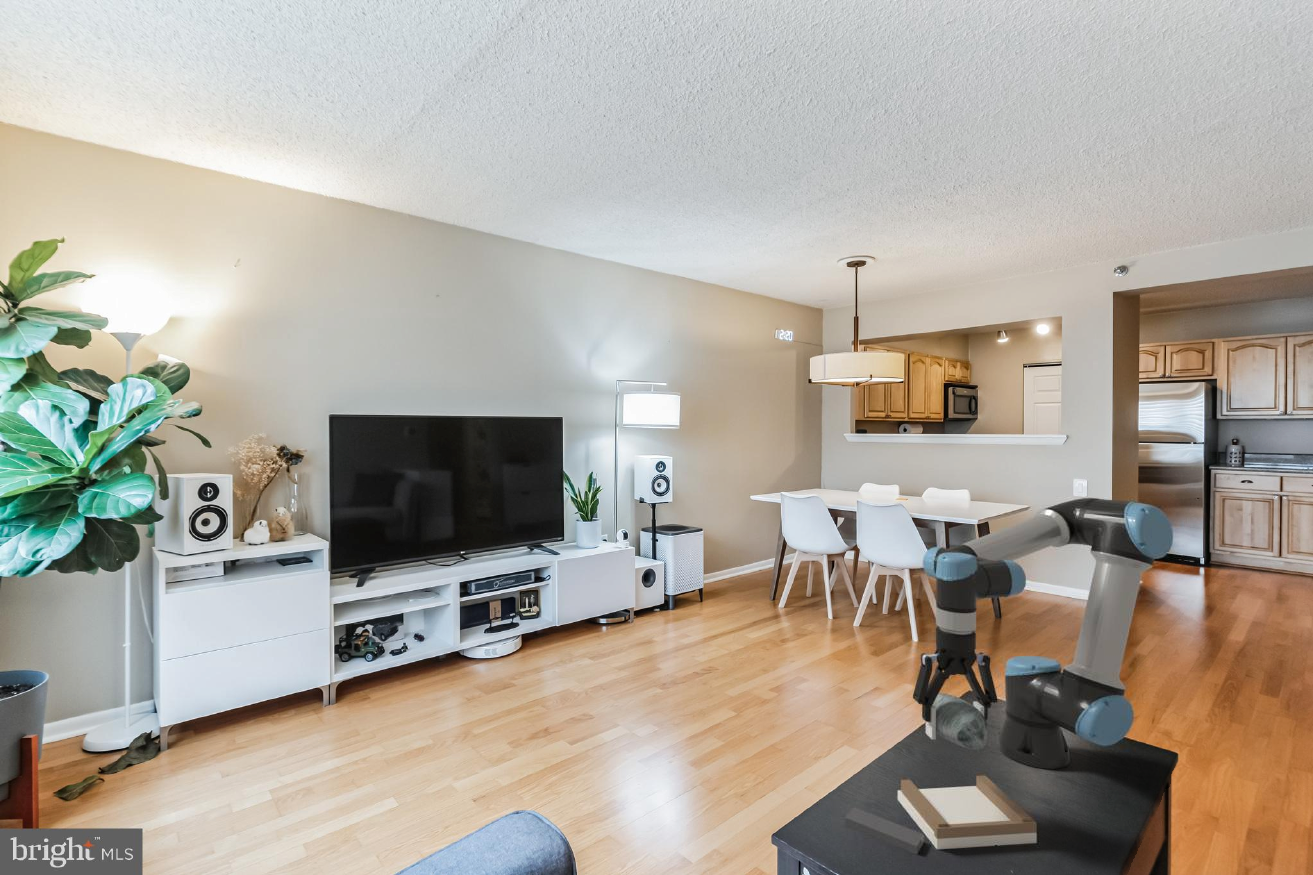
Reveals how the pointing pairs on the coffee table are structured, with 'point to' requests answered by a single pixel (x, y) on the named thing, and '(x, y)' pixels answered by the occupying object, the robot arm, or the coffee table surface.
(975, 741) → the grey streaked oval piece
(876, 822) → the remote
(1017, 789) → the coffee table surface
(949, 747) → the coffee table surface
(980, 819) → the shelf bay
